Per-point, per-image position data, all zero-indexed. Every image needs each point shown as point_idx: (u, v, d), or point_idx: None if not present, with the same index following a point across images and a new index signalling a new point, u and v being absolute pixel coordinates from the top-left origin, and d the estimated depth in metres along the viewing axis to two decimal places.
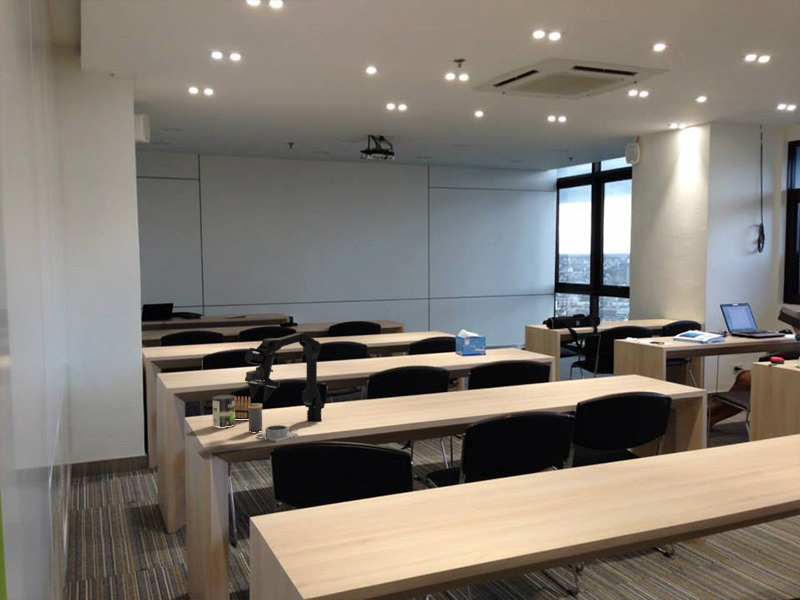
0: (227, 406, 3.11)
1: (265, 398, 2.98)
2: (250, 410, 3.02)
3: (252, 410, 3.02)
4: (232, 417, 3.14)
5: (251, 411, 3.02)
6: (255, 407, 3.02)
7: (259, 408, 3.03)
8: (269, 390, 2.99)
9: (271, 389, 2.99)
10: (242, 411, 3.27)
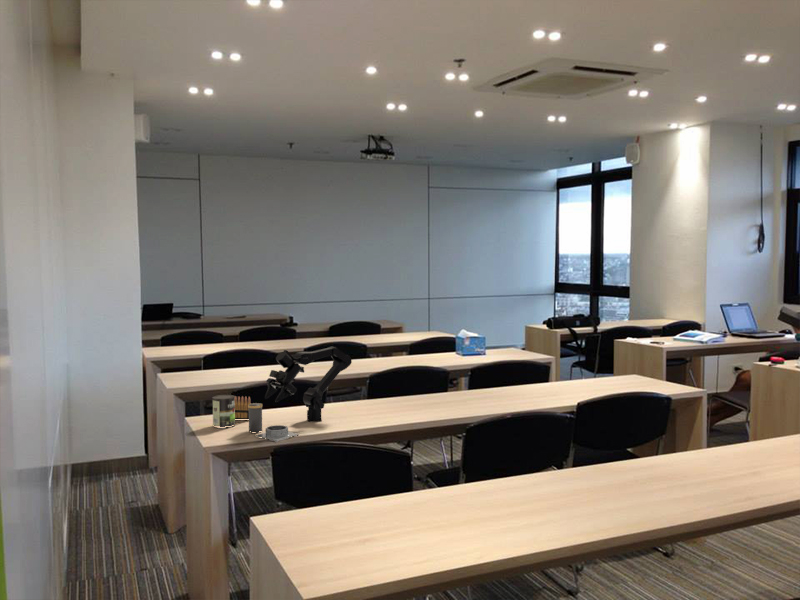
0: (227, 406, 3.11)
1: (277, 399, 3.07)
2: (250, 410, 3.02)
3: (252, 410, 3.02)
4: (232, 417, 3.14)
5: (251, 411, 3.02)
6: (255, 407, 3.02)
7: (259, 408, 3.03)
8: (284, 393, 3.08)
9: (286, 393, 3.09)
10: (242, 411, 3.27)
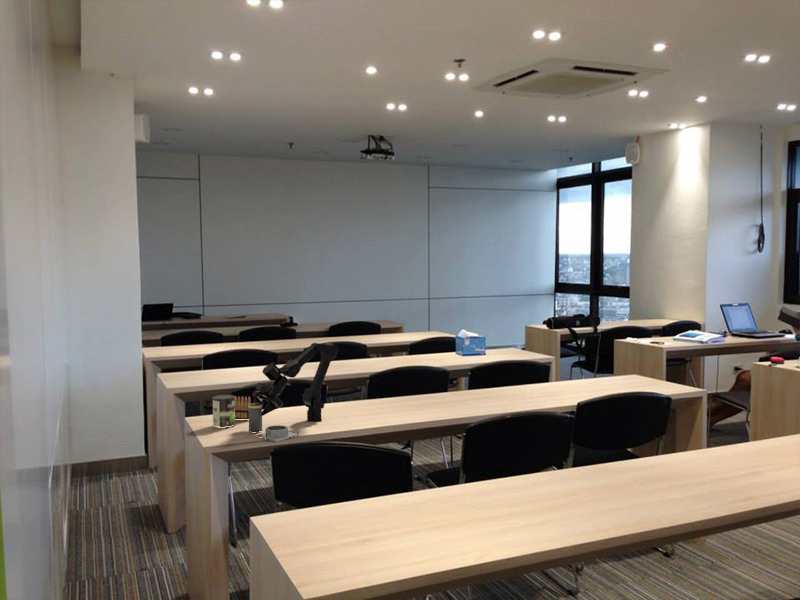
0: (227, 406, 3.11)
1: (263, 412, 3.02)
2: (250, 410, 3.02)
3: (252, 410, 3.02)
4: (232, 417, 3.14)
5: (251, 411, 3.02)
6: (255, 407, 3.02)
7: (259, 408, 3.03)
8: (270, 407, 3.04)
9: (272, 407, 3.04)
10: (242, 411, 3.27)
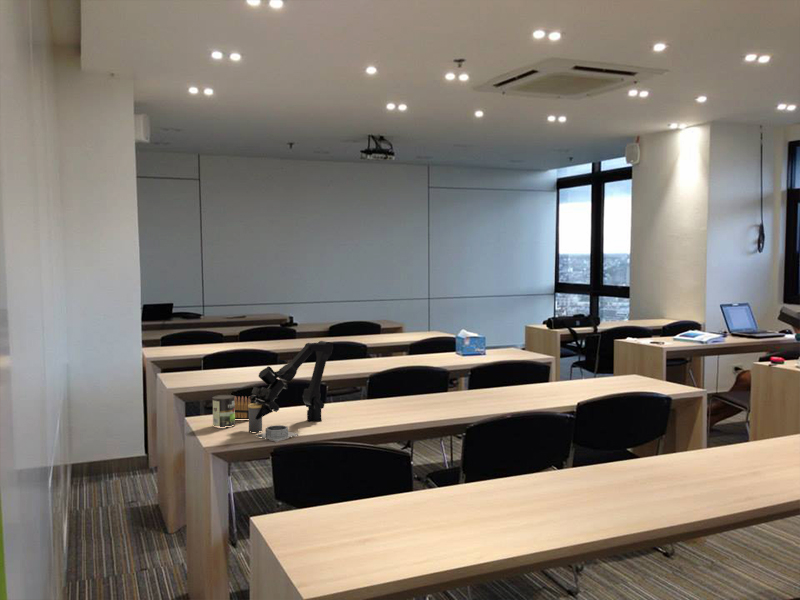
0: (227, 406, 3.11)
1: (258, 416, 3.02)
2: (250, 410, 3.02)
3: (252, 410, 3.02)
4: (232, 417, 3.14)
5: (251, 411, 3.02)
6: (255, 407, 3.02)
7: (259, 408, 3.03)
8: (265, 410, 3.03)
9: (267, 410, 3.04)
10: (242, 411, 3.27)
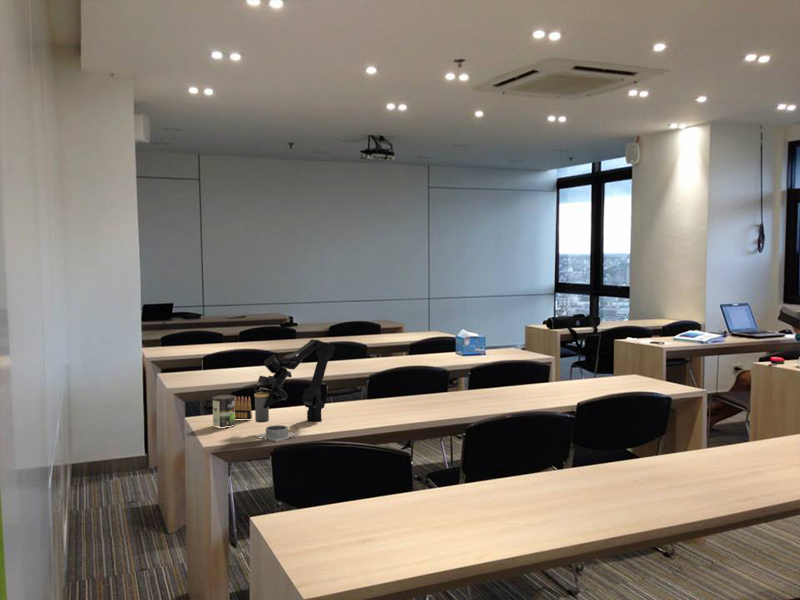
0: (227, 406, 3.11)
1: (266, 405, 2.98)
2: (257, 399, 2.98)
3: (260, 399, 2.98)
4: (232, 417, 3.14)
5: (258, 400, 2.98)
6: (263, 396, 2.98)
7: (266, 397, 2.99)
8: (272, 399, 3.00)
9: (275, 399, 3.01)
10: (242, 411, 3.27)
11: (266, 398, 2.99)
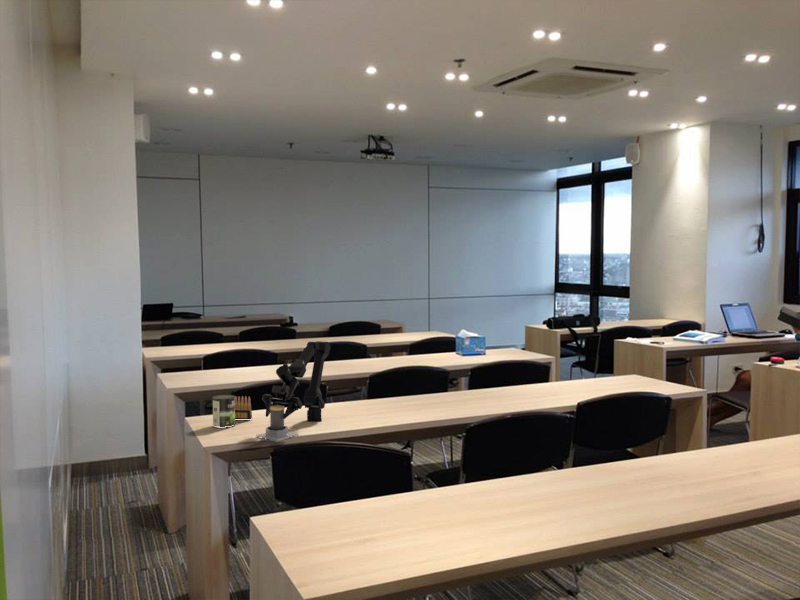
0: (227, 406, 3.11)
1: (285, 415, 2.94)
2: (275, 413, 2.93)
3: (277, 412, 2.93)
4: (232, 417, 3.14)
5: (276, 414, 2.93)
6: (280, 409, 2.94)
7: (283, 410, 2.96)
8: (291, 409, 2.97)
9: (292, 409, 2.97)
10: (242, 411, 3.27)
11: (283, 411, 2.95)
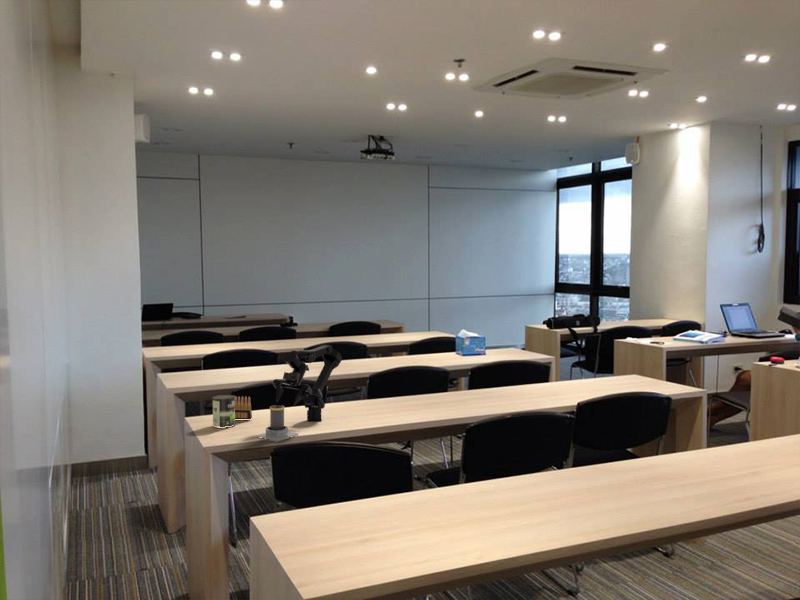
0: (227, 406, 3.11)
1: (296, 401, 3.04)
2: (275, 413, 2.94)
3: (277, 412, 2.94)
4: (232, 417, 3.14)
5: (276, 413, 2.94)
6: (280, 409, 2.94)
7: (283, 410, 2.96)
8: (301, 395, 3.06)
9: (302, 395, 3.07)
10: (242, 411, 3.27)
11: (283, 411, 2.96)
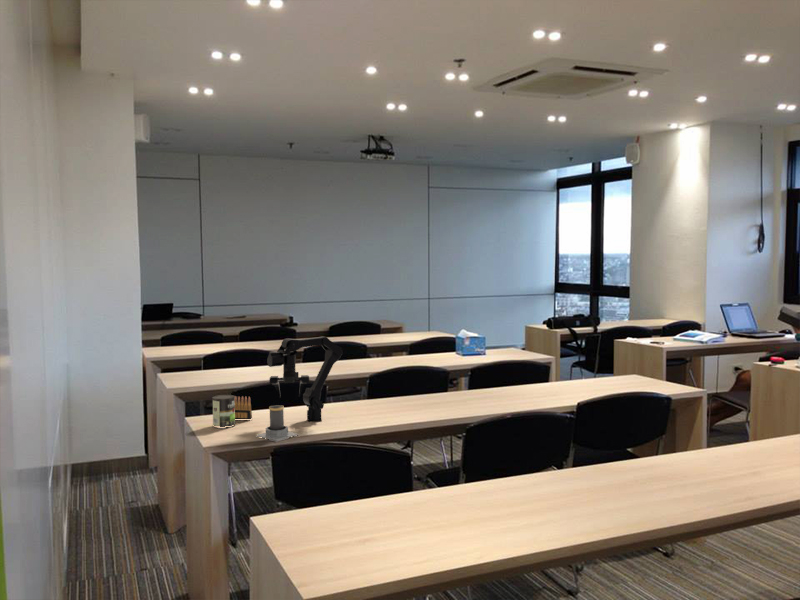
0: (227, 406, 3.11)
1: (300, 394, 3.19)
2: (274, 413, 2.93)
3: (277, 412, 2.93)
4: (232, 417, 3.14)
5: (275, 414, 2.93)
6: (280, 409, 2.94)
7: (282, 410, 2.96)
8: None
9: None
10: (242, 411, 3.27)
11: (282, 411, 2.95)
